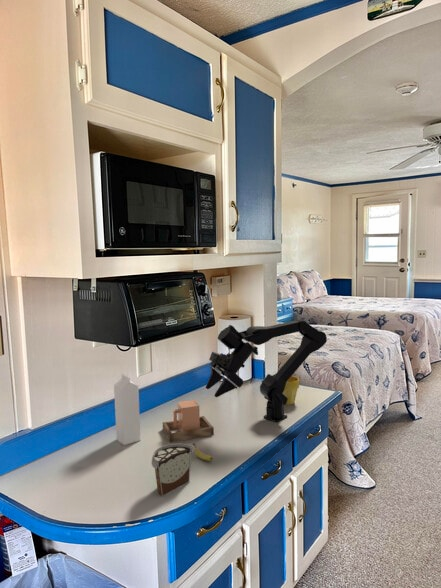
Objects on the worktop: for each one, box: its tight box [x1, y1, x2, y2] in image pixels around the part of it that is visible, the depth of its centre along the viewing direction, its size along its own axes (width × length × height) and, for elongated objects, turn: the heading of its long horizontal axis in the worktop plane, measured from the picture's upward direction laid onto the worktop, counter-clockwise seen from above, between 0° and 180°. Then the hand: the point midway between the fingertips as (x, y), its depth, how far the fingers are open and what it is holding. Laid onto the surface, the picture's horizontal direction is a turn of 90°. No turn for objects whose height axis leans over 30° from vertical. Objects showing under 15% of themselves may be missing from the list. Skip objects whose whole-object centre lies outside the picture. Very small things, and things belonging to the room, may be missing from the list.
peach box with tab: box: [172, 399, 201, 432], centre depth 150 cm, size 8×6×10 cm
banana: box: [192, 442, 213, 462], centre depth 131 cm, size 8×2×4 cm, turn 47°
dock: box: [162, 415, 215, 443], centre depth 151 cm, size 15×11×2 cm
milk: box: [113, 373, 142, 446], centre depth 144 cm, size 6×6×22 cm
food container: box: [151, 443, 193, 498], centre depth 117 cm, size 12×6×10 cm, turn 136°
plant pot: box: [282, 375, 300, 406], centre depth 178 cm, size 10×10×10 cm
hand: (210, 392), depth 152 cm, fingers open, 9 cm apart
